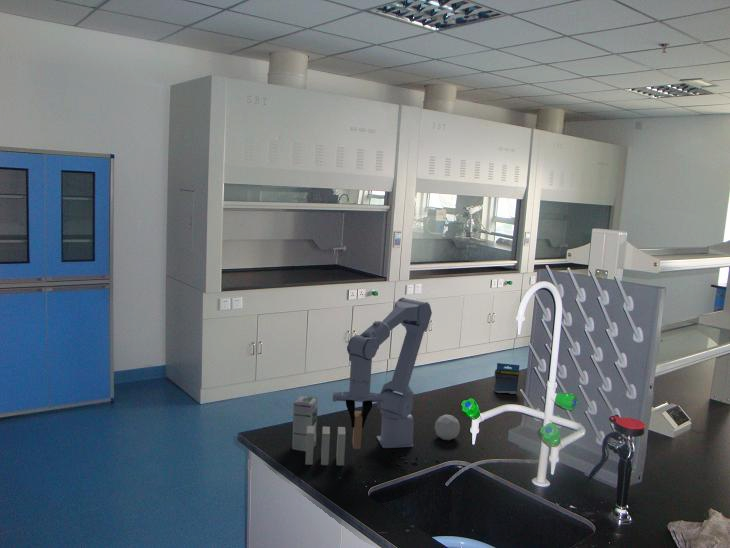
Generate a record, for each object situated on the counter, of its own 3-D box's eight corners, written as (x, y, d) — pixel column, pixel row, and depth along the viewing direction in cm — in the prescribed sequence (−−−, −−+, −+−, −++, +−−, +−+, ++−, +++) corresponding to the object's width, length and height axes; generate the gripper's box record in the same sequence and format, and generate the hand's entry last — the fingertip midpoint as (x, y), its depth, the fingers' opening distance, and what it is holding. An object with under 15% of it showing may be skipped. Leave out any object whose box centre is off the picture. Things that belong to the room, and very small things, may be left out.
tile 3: (328, 456, 166) (329, 426, 165) (328, 465, 161) (329, 433, 160) (321, 456, 166) (322, 426, 165) (320, 464, 161) (322, 433, 160)
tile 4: (313, 456, 166) (314, 426, 165) (312, 464, 161) (314, 433, 160) (305, 456, 166) (307, 425, 165) (305, 464, 161) (306, 433, 160)
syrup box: (310, 452, 169) (313, 403, 167) (291, 449, 170) (293, 401, 168) (316, 444, 174) (318, 397, 172) (297, 441, 175) (299, 394, 173)
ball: (446, 444, 186) (455, 420, 189) (458, 445, 179) (468, 421, 182) (426, 433, 185) (436, 409, 188) (438, 434, 177) (448, 409, 180)
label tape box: (515, 392, 233) (518, 362, 231) (517, 395, 229) (520, 365, 227) (492, 390, 233) (495, 360, 232) (494, 393, 229) (496, 363, 228)
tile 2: (343, 457, 167) (345, 427, 165) (343, 465, 162) (345, 434, 161) (336, 457, 167) (337, 426, 165) (336, 465, 162) (338, 434, 160)
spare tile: (359, 441, 166) (361, 410, 165) (360, 449, 161) (362, 417, 160) (352, 441, 166) (354, 410, 165) (353, 448, 161) (355, 417, 160)
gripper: (334, 382, 157) (331, 431, 159) (388, 384, 158) (384, 432, 160) (333, 374, 164) (331, 421, 166) (385, 376, 165) (382, 422, 167)
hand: (357, 426), depth 163 cm, fingers closed on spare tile, 2 cm apart
